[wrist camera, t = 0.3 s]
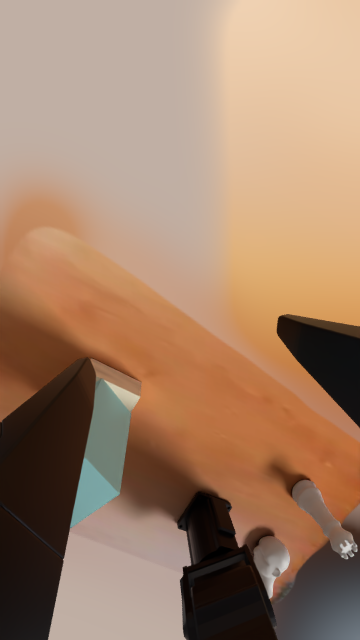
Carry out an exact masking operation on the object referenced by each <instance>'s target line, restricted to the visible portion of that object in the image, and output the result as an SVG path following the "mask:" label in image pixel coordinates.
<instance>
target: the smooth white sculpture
mask: <svg viewBox="0 0 360 640" xmlns="http://www.w3.org/2000/svg"><path fill="white" fill-rule="evenodd" d="M253 552H254V558H253V560H254V562H255V565H256V567H257V569H258V571H259V574H260V576H261V578H262V580H263V583H264V585H265V588H266V591H267V593H268V596H269V598H271V597H272V594H273V583H274V580H275V578H276V577H279V576H280V575H281V573H282V572H283V571H285V570H286V569H287V567H288V565H289V561H290V558H289V553H288V550H287V548H286V547H285V545H284V544H283V543H282V542H281V541H280V540H279V539H277V538H275V537H273V536H266V537H263V538H261V539H260V541H259V545H258V546H257V547H255V548H254V550H253Z"/></svg>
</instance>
